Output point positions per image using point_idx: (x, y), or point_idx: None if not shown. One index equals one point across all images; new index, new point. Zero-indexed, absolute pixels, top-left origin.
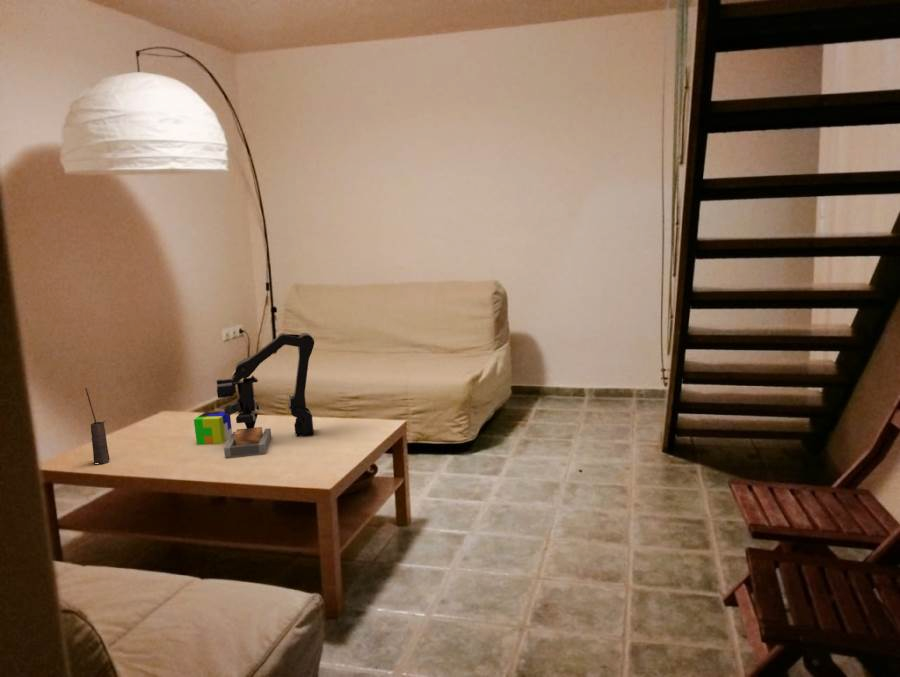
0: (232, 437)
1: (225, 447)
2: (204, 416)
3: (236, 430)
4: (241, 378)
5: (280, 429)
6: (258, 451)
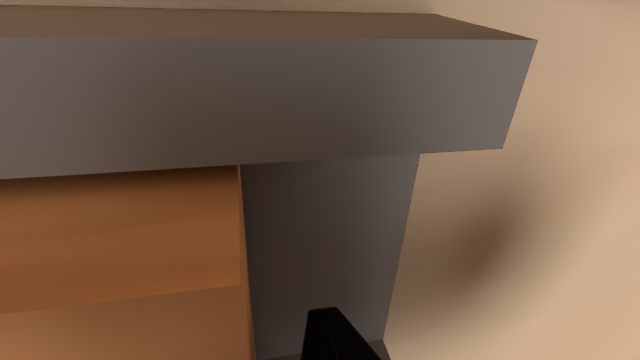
0: (58, 105)
1: None
2: None
3: (113, 304)
4: None
5: (537, 353)
6: None
